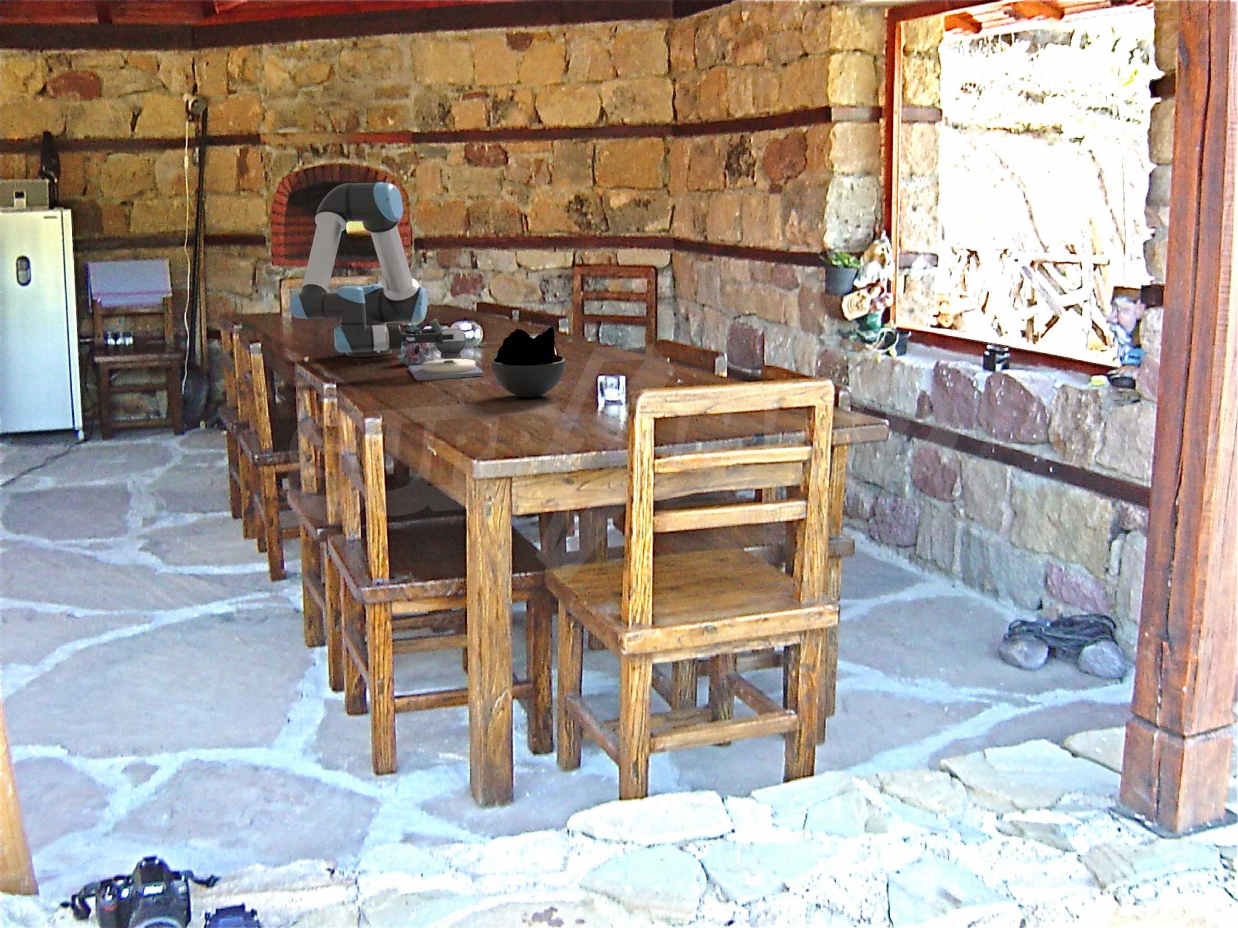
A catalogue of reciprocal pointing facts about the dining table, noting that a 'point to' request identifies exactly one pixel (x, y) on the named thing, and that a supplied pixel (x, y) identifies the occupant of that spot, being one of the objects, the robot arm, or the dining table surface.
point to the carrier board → (441, 376)
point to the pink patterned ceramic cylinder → (414, 354)
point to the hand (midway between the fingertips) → (461, 333)
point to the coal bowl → (528, 363)
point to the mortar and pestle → (448, 344)
